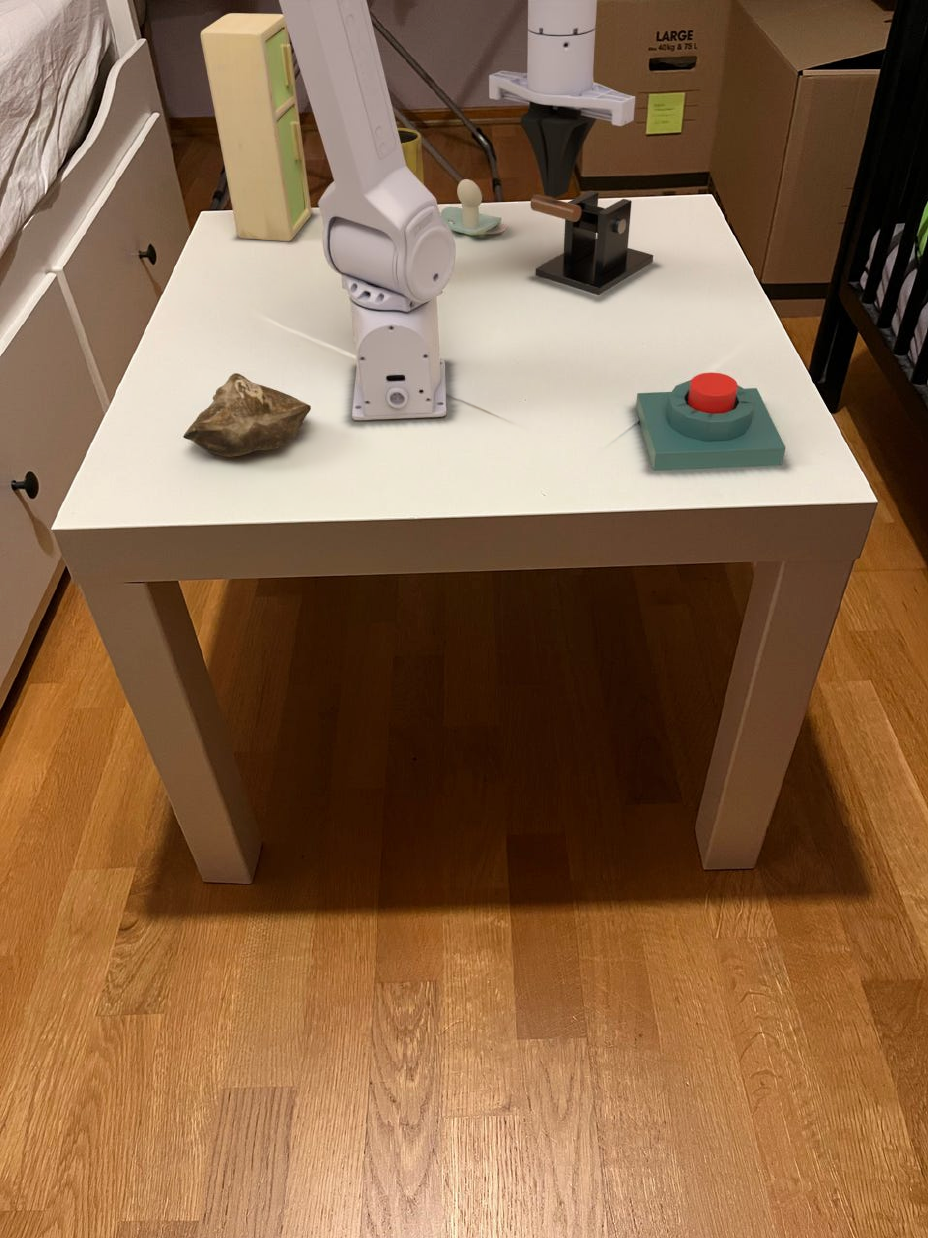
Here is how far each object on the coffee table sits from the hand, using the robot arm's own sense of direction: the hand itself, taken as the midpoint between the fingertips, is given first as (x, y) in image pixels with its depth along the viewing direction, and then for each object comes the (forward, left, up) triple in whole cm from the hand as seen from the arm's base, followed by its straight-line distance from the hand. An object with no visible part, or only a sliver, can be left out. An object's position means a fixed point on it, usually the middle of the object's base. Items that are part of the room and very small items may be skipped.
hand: (556, 193), depth 92 cm
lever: (+2, -2, -4) cm, 5 cm away
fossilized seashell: (-25, +27, -10) cm, 38 cm away
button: (-27, -10, -7) cm, 29 cm away
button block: (-27, -10, -10) cm, 30 cm away
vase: (+5, +15, -10) cm, 19 cm away
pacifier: (+17, +7, -10) cm, 21 cm away
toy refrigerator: (+21, +30, -10) cm, 38 cm away
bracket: (+5, -5, -10) cm, 12 cm away
